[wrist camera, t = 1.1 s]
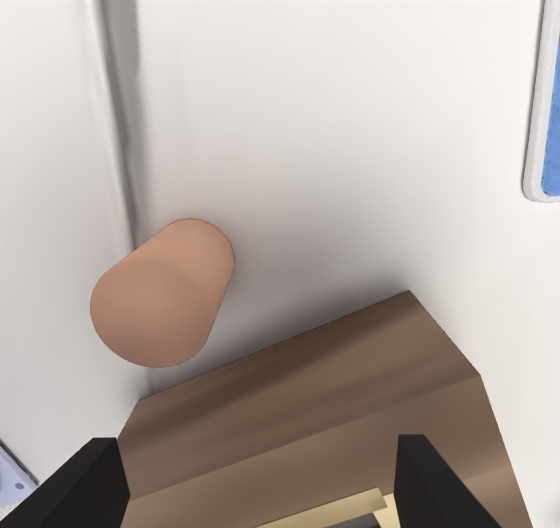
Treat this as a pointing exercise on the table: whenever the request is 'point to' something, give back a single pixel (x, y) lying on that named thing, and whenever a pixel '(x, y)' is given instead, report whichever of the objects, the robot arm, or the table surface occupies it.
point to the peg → (164, 295)
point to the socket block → (316, 430)
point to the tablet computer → (545, 115)
